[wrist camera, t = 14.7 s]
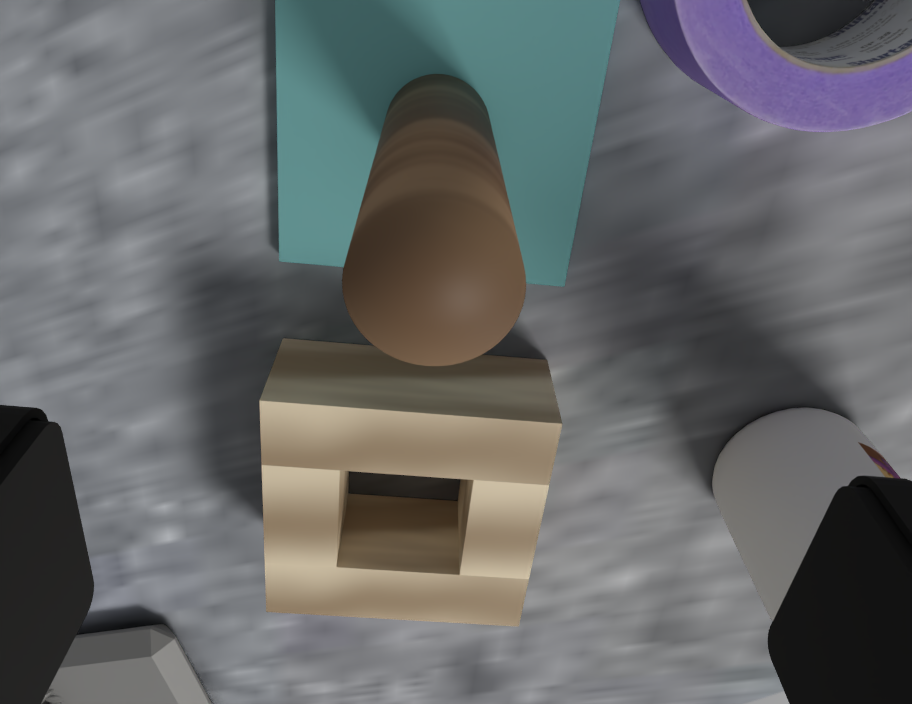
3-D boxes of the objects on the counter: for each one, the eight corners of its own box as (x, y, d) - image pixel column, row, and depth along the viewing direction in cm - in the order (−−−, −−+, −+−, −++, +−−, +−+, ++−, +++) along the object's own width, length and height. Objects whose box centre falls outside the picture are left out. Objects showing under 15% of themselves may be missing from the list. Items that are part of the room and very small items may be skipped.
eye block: (283, 338, 33) (259, 400, 29) (547, 360, 34) (562, 423, 30) (285, 535, 39) (266, 611, 35) (510, 550, 40) (518, 626, 36)
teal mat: (277, -70, 26) (274, -70, 25) (621, -29, 26) (625, -28, 26) (281, 255, 31) (279, 261, 31) (562, 280, 32) (564, 286, 32)
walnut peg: (387, 68, 27) (345, 190, 15) (497, 79, 28) (539, 208, 15) (382, 175, 29) (340, 358, 17) (483, 185, 30) (512, 373, 17)
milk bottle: (694, 521, 39) (890, 992, 22) (726, 400, 36) (994, 856, 18) (838, 523, 40) (1142, 991, 22) (885, 403, 36) (1297, 856, 19)
